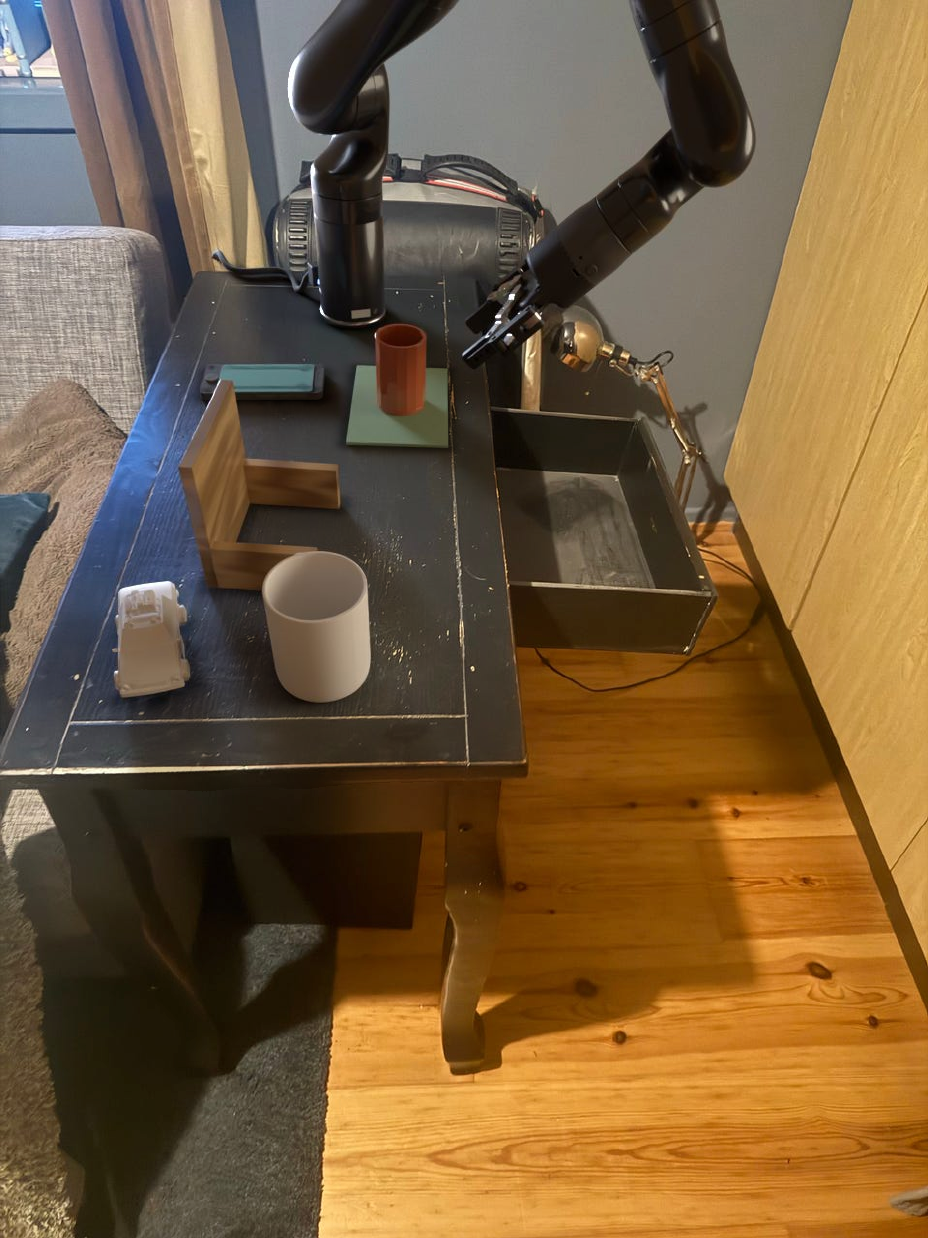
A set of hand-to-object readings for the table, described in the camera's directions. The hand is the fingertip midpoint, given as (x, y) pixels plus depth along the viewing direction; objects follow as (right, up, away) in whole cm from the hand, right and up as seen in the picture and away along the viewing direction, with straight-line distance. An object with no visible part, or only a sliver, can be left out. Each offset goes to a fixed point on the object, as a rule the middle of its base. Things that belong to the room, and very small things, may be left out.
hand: (468, 344), depth 97 cm
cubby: (-19, -25, -13) cm, 34 cm away
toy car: (-28, -36, -24) cm, 51 cm away
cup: (-8, -5, +6) cm, 12 cm away
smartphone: (-26, -3, +8) cm, 27 cm away
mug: (-14, -36, -23) cm, 45 cm away
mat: (-9, -6, +6) cm, 12 cm away
